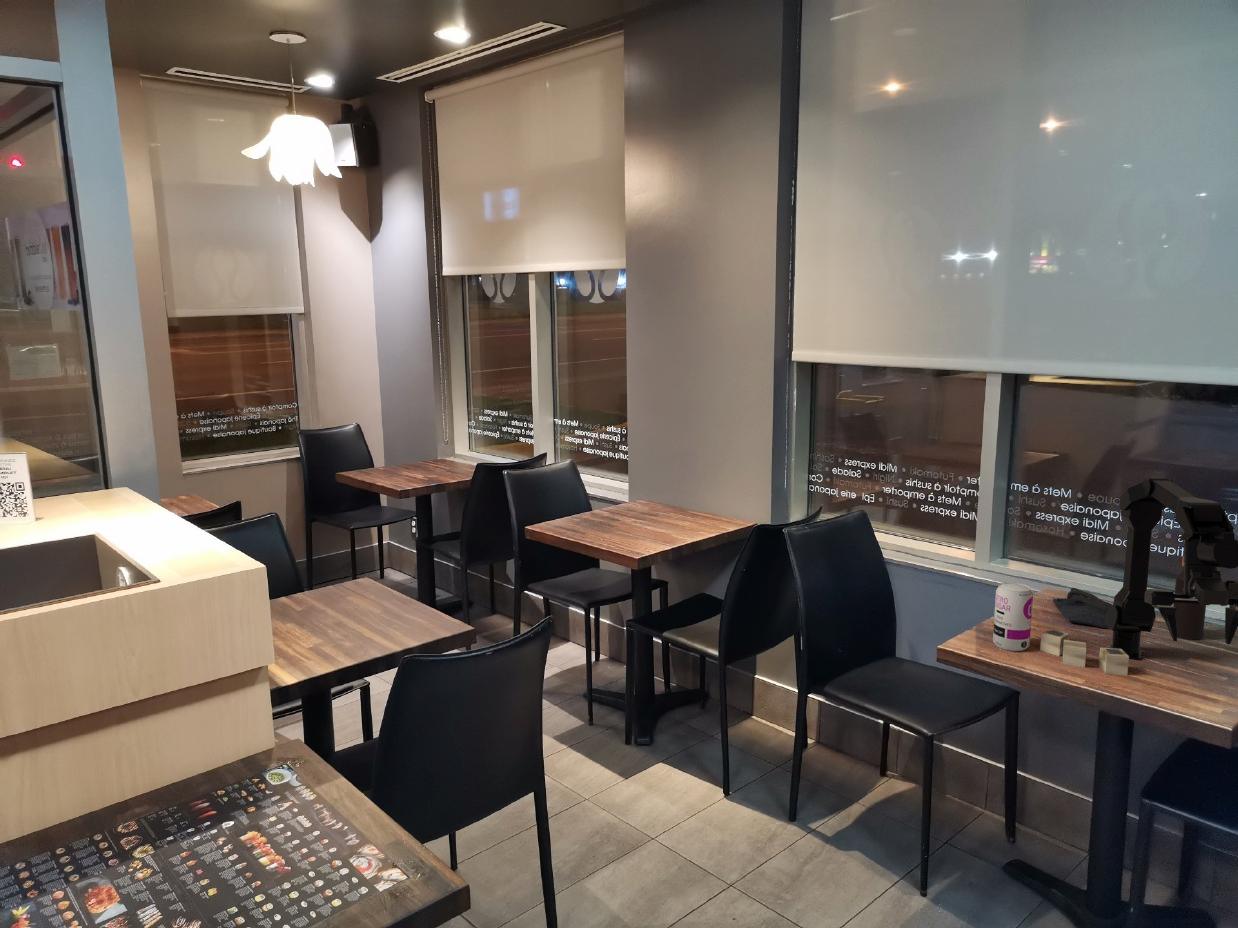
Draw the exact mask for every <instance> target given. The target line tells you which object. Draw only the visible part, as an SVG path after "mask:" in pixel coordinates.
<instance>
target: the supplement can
mask: <svg viewBox="0 0 1238 928" xmlns="http://www.w3.org/2000/svg"><path fill="white" fill-rule="evenodd" d="M1033 600H1034V592H1032V589H1031V587H1030V586H1028V585H1026V584H1024V583H1020V582H1001V583H1000V584H999V585H998V587H997V588H996V590H995V600H994V602H995V603H994V604H995V605H994V614H993V616H994V618H993V632H992V642H993V644H994V645H995V646H996V647H997V648H1000V649H1002V650H1006V651H1010V652H1021V651H1026V650H1027V649H1028V648H1029V647H1030V643H1031V631H1032V617H1033V604H1034V603H1033Z"/></svg>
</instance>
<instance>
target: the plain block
mask: <svg viewBox="0 0 1238 928" xmlns="http://www.w3.org/2000/svg"><path fill="white" fill-rule="evenodd" d="M1086 657H1087V643H1086V642H1083V641H1077V640H1076V641H1075V640H1070V639H1069V640H1064V646H1063V654H1062V665H1065V666H1070V665H1071V666H1072V667H1079V668H1083V669H1084V668H1086ZM1071 666H1070V667H1071Z"/></svg>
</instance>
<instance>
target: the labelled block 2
mask: <svg viewBox="0 0 1238 928" xmlns="http://www.w3.org/2000/svg"><path fill="white" fill-rule="evenodd" d="M1098 658H1099V659H1098V667H1099V668H1100V670H1101V671H1102V672H1103V673H1104V674H1105V675H1119V676H1120V675H1121V676H1128V671H1129V660H1130V658H1129V656H1128V655H1127V654H1126V653H1125V652H1124V651H1123V650H1122V649H1114V648H1110V647H1100V648H1099V656H1098Z"/></svg>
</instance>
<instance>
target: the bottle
mask: <svg viewBox="0 0 1238 928" xmlns="http://www.w3.org/2000/svg"><path fill="white" fill-rule="evenodd" d="M1181 561H1182V562H1181V566H1182V567H1181V568H1184V556H1182V560H1181ZM1183 588H1184V573H1183V572H1182V571H1180V572H1179V573H1177V574H1176V577H1175V584H1174V594H1184V593H1183ZM1193 597H1195V596H1193ZM1193 597H1190V598H1192V599H1193ZM1173 607H1175V608H1177V609H1176V615H1175V617H1176V627H1177V638H1180V639H1186V640H1201V639H1202V638H1203V636H1204V629H1205V627H1204V626H1205V621H1206V620H1205V619H1206V612H1207V611H1206V609H1207V605H1202V604H1196V603H1173Z"/></svg>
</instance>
